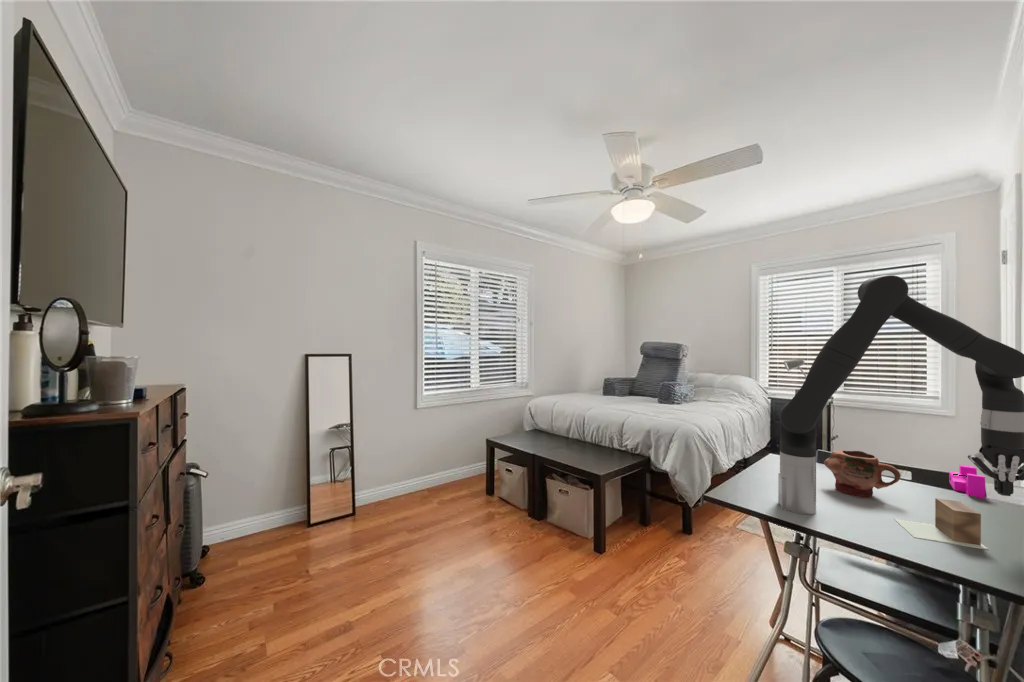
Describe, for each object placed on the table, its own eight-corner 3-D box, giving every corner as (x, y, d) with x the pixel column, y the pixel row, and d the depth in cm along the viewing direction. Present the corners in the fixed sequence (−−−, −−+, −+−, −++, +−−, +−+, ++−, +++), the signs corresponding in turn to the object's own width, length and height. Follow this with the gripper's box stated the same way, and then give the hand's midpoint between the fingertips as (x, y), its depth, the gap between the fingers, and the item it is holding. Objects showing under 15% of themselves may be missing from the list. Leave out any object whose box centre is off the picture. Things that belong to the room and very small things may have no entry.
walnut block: (953, 541, 104) (953, 510, 104) (935, 526, 112) (935, 498, 112) (980, 545, 102) (980, 513, 102) (959, 530, 110) (959, 501, 110)
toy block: (949, 483, 149) (949, 463, 149) (974, 487, 145) (974, 466, 145) (957, 495, 138) (957, 473, 138) (984, 499, 134) (985, 477, 134)
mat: (914, 538, 106) (914, 537, 106) (894, 520, 117) (894, 518, 117) (988, 550, 100) (988, 548, 100) (960, 530, 111) (960, 528, 111)
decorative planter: (902, 498, 134) (902, 456, 134) (899, 508, 126) (899, 464, 126) (827, 482, 149) (827, 445, 149) (820, 490, 141) (820, 451, 141)
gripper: (976, 428, 103) (977, 495, 103) (1052, 433, 97) (1053, 504, 97) (959, 423, 110) (960, 486, 110) (1029, 427, 104) (1030, 493, 104)
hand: (1004, 494), depth 103 cm, fingers closed
